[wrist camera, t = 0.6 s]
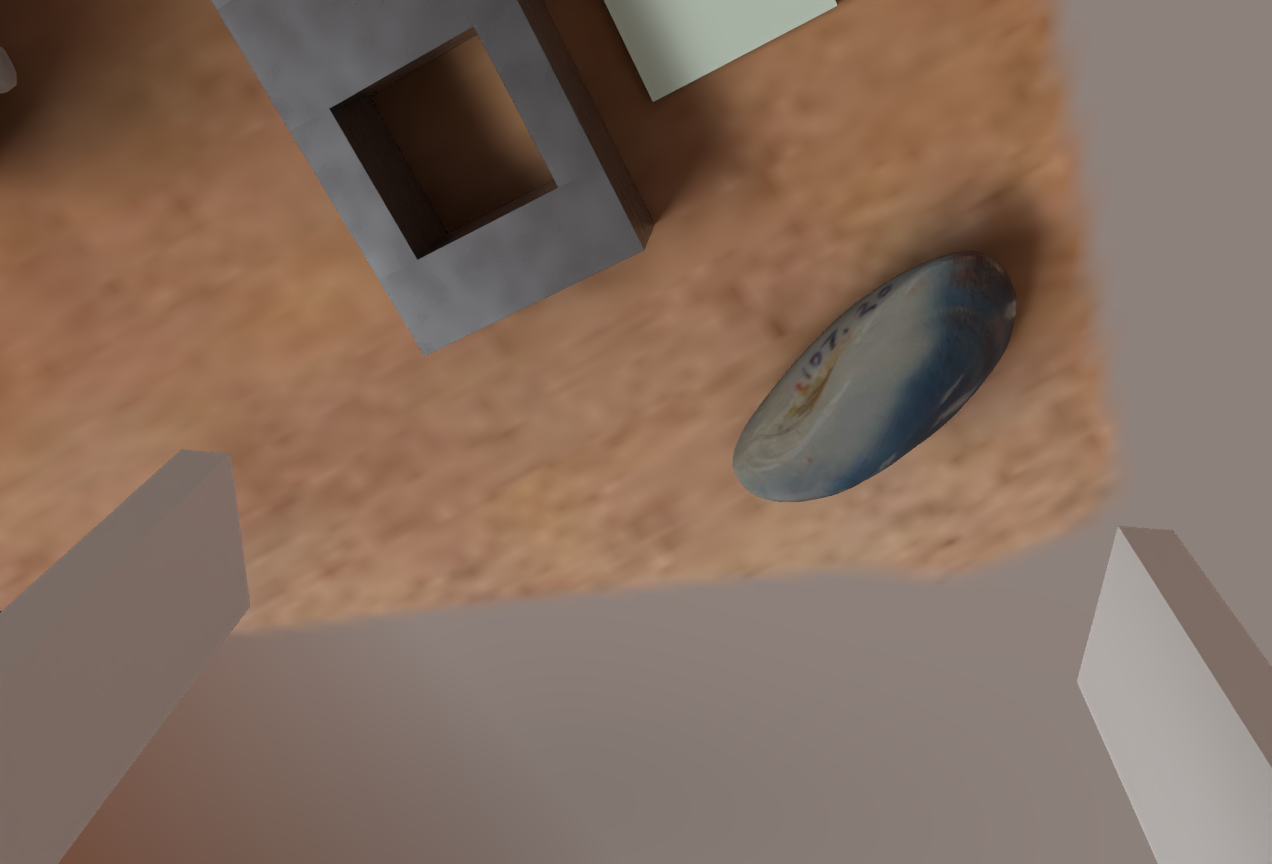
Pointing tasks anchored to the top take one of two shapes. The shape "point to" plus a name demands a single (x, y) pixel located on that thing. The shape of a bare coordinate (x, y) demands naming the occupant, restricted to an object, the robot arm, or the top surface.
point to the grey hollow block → (386, 187)
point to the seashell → (879, 380)
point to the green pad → (701, 34)
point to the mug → (6, 72)
